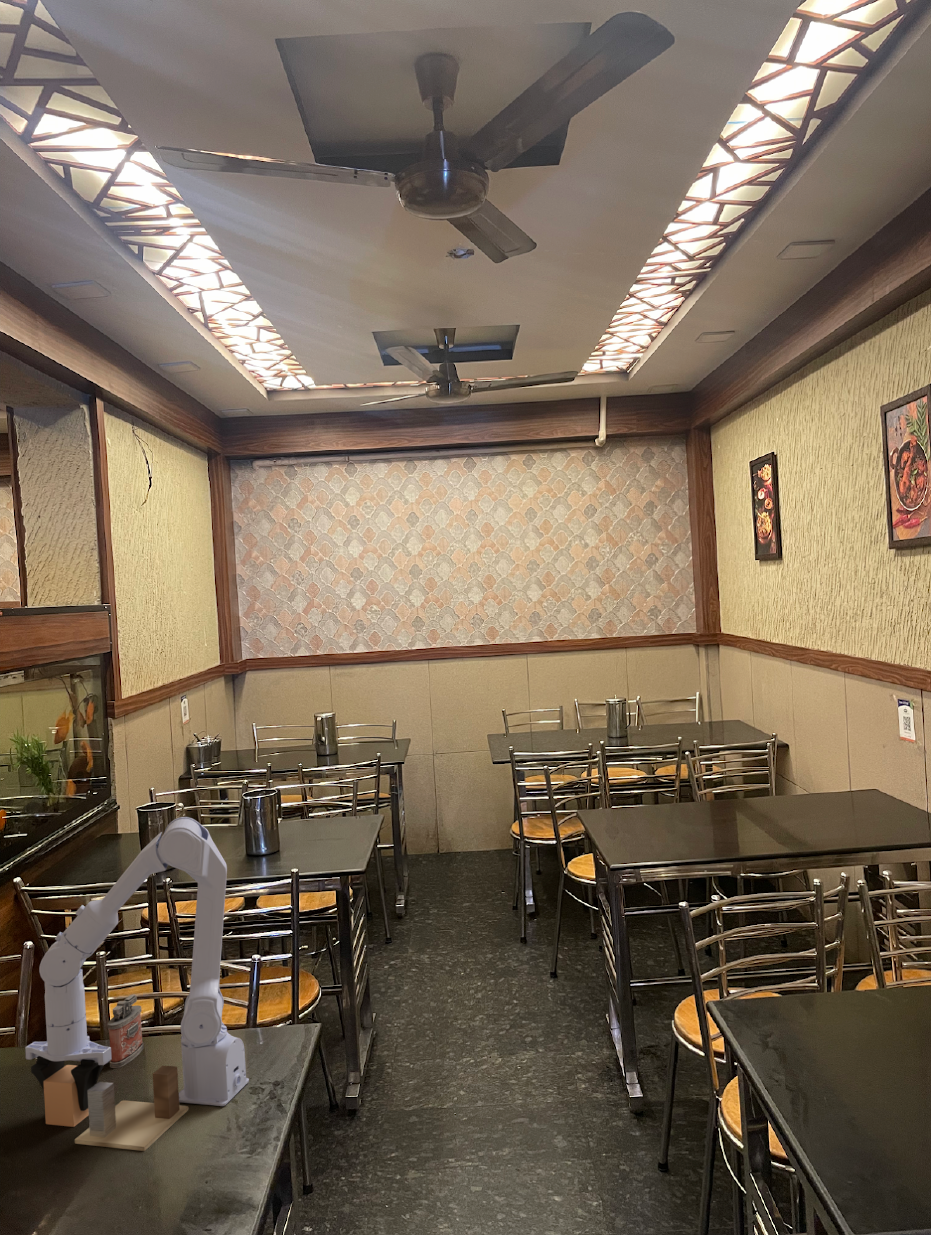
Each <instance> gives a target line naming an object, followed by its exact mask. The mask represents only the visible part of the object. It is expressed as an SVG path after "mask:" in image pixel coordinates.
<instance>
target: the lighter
mask: <svg viewBox="0 0 931 1235" xmlns="http://www.w3.org/2000/svg"><path fill="white" fill-rule="evenodd" d="M137 1000H138V999H137V995H136V994H131V995H129V996H128V997H126V998H125V999H124V1000H119V1001H118V1002H117V1003H116V1006H115V1007H113V1008H112V1015H113V1017H112V1018H111V1019H110V1020H109V1021H108V1022H107V1029H108V1033H109V1034H108V1035H109V1037H108V1038H109V1047H111V1058H112V1059H111V1060H110V1061H109V1068H113V1069H119V1068H122V1067H123V1066H125V1065H127V1064H129V1063H130V1062H131V1061H132V1060H134V1059H135V1058H136V1057H137V1056H138V1055H140V1053H141V1052H142V1051H143V1050H144V1048H145V1046H144V1042H143V1032H142V1031H143V1030H142V1016H141V1013H142V1011H143V1010H142V1005H134V1004H135V1003H137Z"/></svg>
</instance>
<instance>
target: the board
mask: <svg viewBox="0 0 931 1235" xmlns="http://www.w3.org/2000/svg"><path fill="white" fill-rule="evenodd" d="M179 1107H180V1110H179V1111H178V1112H177V1113H176V1114H175V1115H174V1116H173V1117H172V1118H170V1119H163V1118H155V1108H154V1102H146V1101H145V1102H144V1101H135V1100H125V1099H124V1100H123V1099H122V1100H121V1101H119V1103H117V1104H115V1116H116V1128H115V1129H114V1130H113V1131H112V1132H110V1133H109V1134H108V1135H107V1136H106V1137H96V1136H90V1128H89V1127H88V1128H87V1129H86V1130H84V1131H83V1132H81V1134H80V1135H78V1136H77V1137H76V1138H75V1139H74V1144H77V1145H86V1146H94V1147H95V1146H96V1147H104V1148H105V1147H106V1148H111V1149H123V1150H130V1151H131V1150H133V1151H141V1152H146V1150H148V1148H150V1147H151V1146H152V1145H153V1144H154V1143H155V1142H156V1141H157V1140H158V1139H159V1138H160V1137H162V1135H163V1134H164V1133H166V1132H167V1131H168V1130H169V1128H171V1127H172V1126H173V1125H174V1124H176V1123H177V1122H178V1120H179V1119H181V1117H182V1116H184V1115H185V1114H186V1113H187V1112H188V1111H189V1106H187V1105H180V1104H179Z"/></svg>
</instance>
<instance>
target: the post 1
mask: <svg viewBox="0 0 931 1235" xmlns="http://www.w3.org/2000/svg"><path fill="white" fill-rule="evenodd" d="M87 1092H88V1110H89V1115H88V1125H89V1127H88V1128H90V1136H96V1137H106V1136H107V1135H108V1134H109V1133H110V1132H112V1131H113V1130H114V1129H115V1128H116V1116H115V1106H116V1100H115V1099H116V1098H115V1084H114V1082H106V1081H97V1084H95V1085H94V1086H93V1087H91V1088H90V1089H89V1090H88V1091H87Z"/></svg>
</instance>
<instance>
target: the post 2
mask: <svg viewBox="0 0 931 1235" xmlns="http://www.w3.org/2000/svg"><path fill="white" fill-rule="evenodd" d="M152 1087H153V1089H152V1090H153V1091H152V1092H153V1103H154V1108H155V1118H163V1119H170V1118H172V1117H173V1116H174V1115H175V1114H176V1113H177V1112H178V1111H179V1110H180V1107H179V1105H180V1102H179V1092H180V1091H179V1075H178V1066H175V1065H173V1066H172V1065H161V1066H160V1067H158V1069H156V1070H155V1071H154V1072H153V1073H152Z"/></svg>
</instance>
